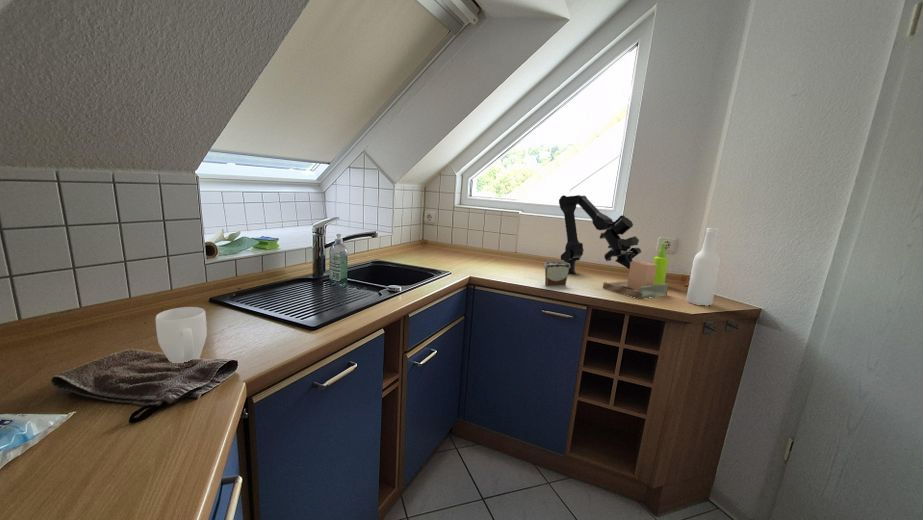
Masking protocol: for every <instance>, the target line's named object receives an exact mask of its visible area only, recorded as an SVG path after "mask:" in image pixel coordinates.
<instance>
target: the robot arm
mask: <svg viewBox="0 0 923 520" xmlns="http://www.w3.org/2000/svg"><path fill="white" fill-rule="evenodd" d="M558 204H559V207H560V210H561V211H562V213H563V217H564V224H565V232H566V240H567V242H566V245H565V248H564V249H565V251H564V252H563V253H562V254H561V255H560V260H561V261H563V262H566V263H570V268H569V272H568V274H575V275H576V273H577V272H576V262H578V261H580V260H581V258H582V256H583V254H584V251H585V250H584V244H583V243H582V242H579V240H578V231H577V224H576V216H575V211H576V209H577V205H578V206H579V207H580V208H581V209H582V210H583V211H584V212H585V213H586V214H587V215H588V217H589V218H591V220H592V221H591V223H592V224H593V226H594V227H595V229H596V230H597V231H603V232H600V235H599V239H601V240H602V239H605V241H606V242H607V244H608V245H607V249H609V250H608V252H606V253H605V254H604V256H603V257H604V260H605V261H606V262H610V261H612V257H613V258H616V259H615V262H617V263H618V264H620V265H622V266H623V267H625V268H626V269H628V270H630V263H631V262H632V261H633V259H634V258H636V257H637V256H638V255H639V254H641V253H642V250H641V248H640V247H633V246H638V245H639V242H640V239H638V237H637V236H636V235H635V236H632V237H628V238H622V237H621V236H622V235H624V234H625V233H626V232H627V231H629V230H630V229H632V228H633V226H634V224H633V221H632V220H631V219H629V218H628V217H626V216H625V215H620V216H619V217H618V218H617V219H616V220H615V221H614V220H613V219H612V218H611V217H609V216H608V215H606V214H604V213H602V212H600V210H599V209H598V208H597V207H596V206H595V205H594V204H593V203H592V202H591V201H590V200H589V199H588V197H587V196H586V195H584V194H577V195H564V194H563V195H561V196H560V198H559V199H558ZM620 235H621V236H620Z"/></svg>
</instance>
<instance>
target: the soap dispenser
mask: <svg viewBox="0 0 923 520" xmlns="http://www.w3.org/2000/svg"><path fill="white" fill-rule="evenodd" d="M667 245H669V243H668V242H661V243H660V249H658V252H657V256H654V258H653V263H652V264H656V265H657V267H656V273H655V279H654V285H656V284H663V283H665V282H666V276H667V269H668V264H669V258H668V257H667V250H666V246H667Z"/></svg>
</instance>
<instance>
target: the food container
mask: <svg viewBox="0 0 923 520" xmlns="http://www.w3.org/2000/svg"><path fill="white" fill-rule="evenodd" d="M543 268H544V269H545V271H544V272H545V274H544V276H545V277H544V285H545V287H565V285H567V280H568V275H569V273H568V272H569V268H570V263H566V262H564V261H559V260H547V261H545V263H544V265H543Z"/></svg>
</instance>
